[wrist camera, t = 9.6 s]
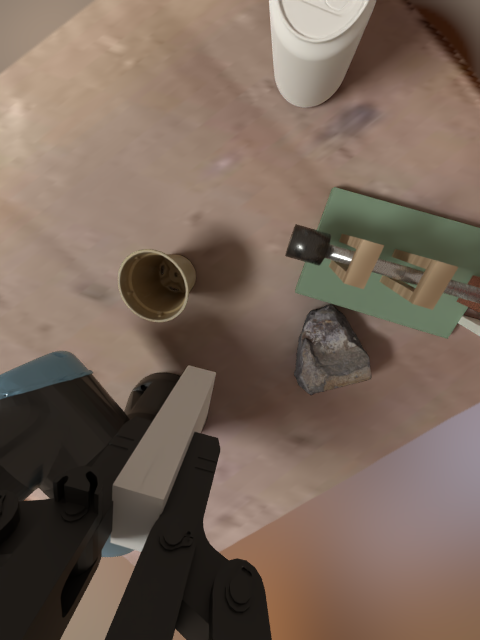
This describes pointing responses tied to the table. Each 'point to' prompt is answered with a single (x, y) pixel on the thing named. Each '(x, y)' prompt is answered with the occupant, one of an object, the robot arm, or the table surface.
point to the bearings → (364, 264)
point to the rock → (329, 353)
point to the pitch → (393, 259)
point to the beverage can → (315, 45)
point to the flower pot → (155, 284)
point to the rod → (317, 247)
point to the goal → (470, 324)
